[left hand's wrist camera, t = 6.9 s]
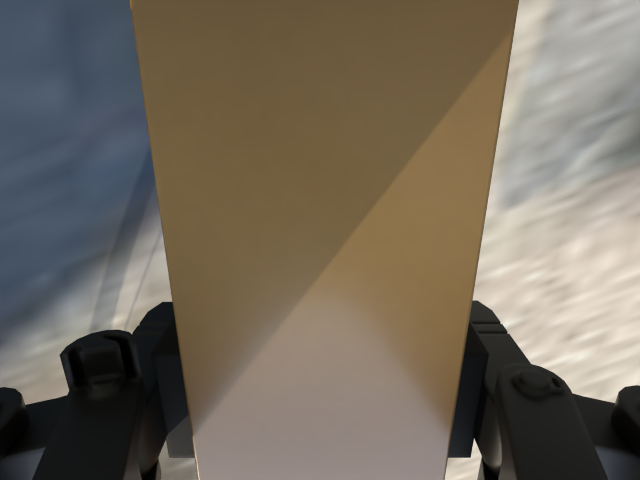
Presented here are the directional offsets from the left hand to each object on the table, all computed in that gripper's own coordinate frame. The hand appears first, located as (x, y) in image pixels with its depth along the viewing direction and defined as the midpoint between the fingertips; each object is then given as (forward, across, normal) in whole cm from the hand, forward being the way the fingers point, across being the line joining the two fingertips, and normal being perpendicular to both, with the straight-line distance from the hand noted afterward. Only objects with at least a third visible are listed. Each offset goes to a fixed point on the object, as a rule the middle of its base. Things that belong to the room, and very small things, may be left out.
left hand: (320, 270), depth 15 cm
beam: (+1, 0, -29) cm, 29 cm away
